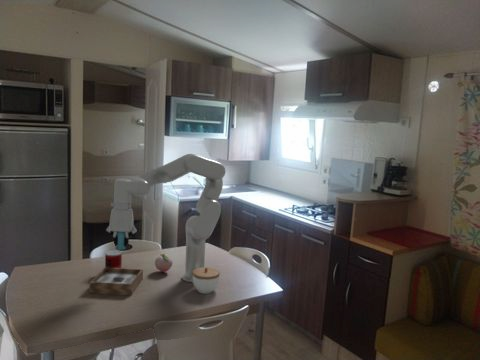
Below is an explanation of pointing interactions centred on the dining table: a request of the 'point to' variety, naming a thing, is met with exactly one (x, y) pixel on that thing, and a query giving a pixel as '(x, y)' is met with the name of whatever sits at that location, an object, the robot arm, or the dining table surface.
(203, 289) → the lidded bowl
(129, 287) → the bore box
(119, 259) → the canned food
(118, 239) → the peg
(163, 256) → the decorative fruit
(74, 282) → the dining table surface
